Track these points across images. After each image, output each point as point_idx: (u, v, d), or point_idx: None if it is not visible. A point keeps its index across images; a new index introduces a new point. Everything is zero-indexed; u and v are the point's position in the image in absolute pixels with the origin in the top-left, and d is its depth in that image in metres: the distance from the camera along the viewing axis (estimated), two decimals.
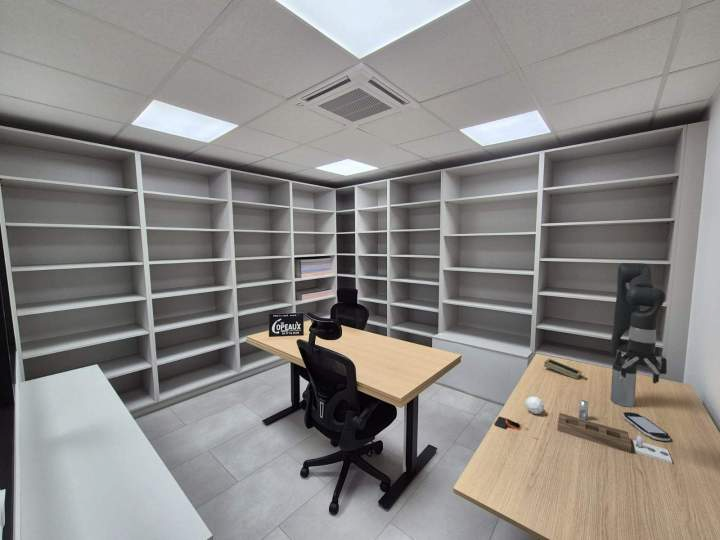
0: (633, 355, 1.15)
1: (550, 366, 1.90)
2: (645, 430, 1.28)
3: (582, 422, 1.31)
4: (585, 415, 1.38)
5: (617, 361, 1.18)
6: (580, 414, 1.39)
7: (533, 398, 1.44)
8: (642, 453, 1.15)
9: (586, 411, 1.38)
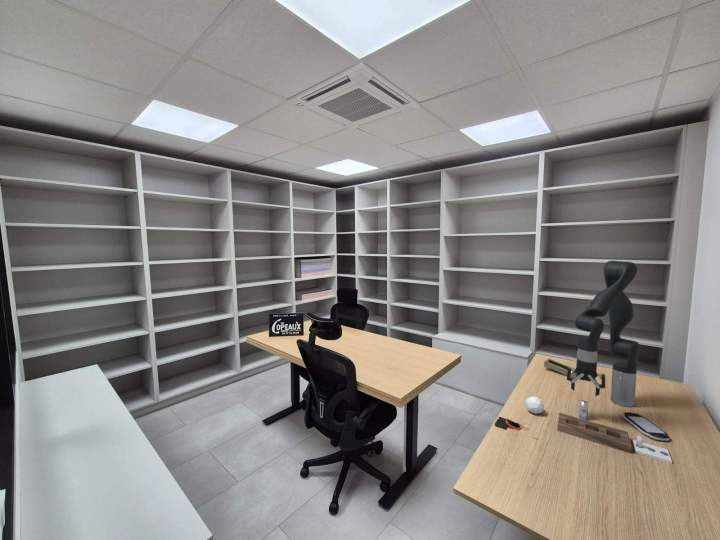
0: (580, 372, 1.38)
1: (550, 366, 1.90)
2: (644, 430, 1.28)
3: (582, 422, 1.31)
4: (585, 415, 1.38)
5: (567, 377, 1.41)
6: (580, 414, 1.39)
7: (533, 398, 1.44)
8: (642, 453, 1.15)
9: (586, 411, 1.38)
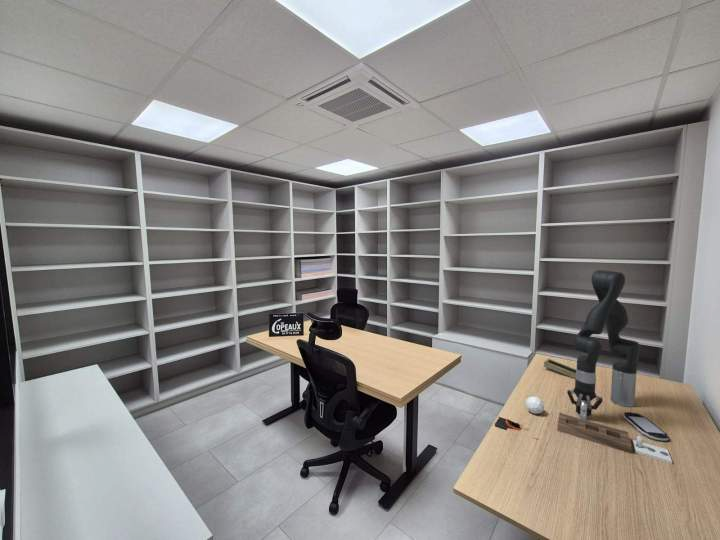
0: (578, 392, 1.39)
1: (550, 366, 1.90)
2: (643, 430, 1.28)
3: (582, 422, 1.31)
4: (585, 415, 1.38)
5: (571, 400, 1.41)
6: (580, 414, 1.39)
7: (533, 398, 1.44)
8: (642, 453, 1.15)
9: (586, 411, 1.38)
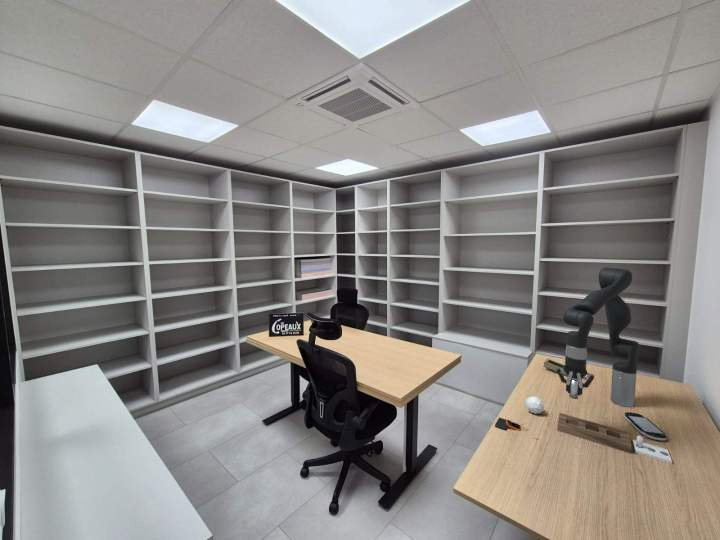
0: (568, 370, 1.30)
1: (550, 366, 1.89)
2: (641, 429, 1.28)
3: (582, 422, 1.31)
4: (576, 394, 1.29)
5: (561, 378, 1.32)
6: (570, 393, 1.30)
7: (533, 398, 1.44)
8: (642, 453, 1.15)
9: (576, 389, 1.29)
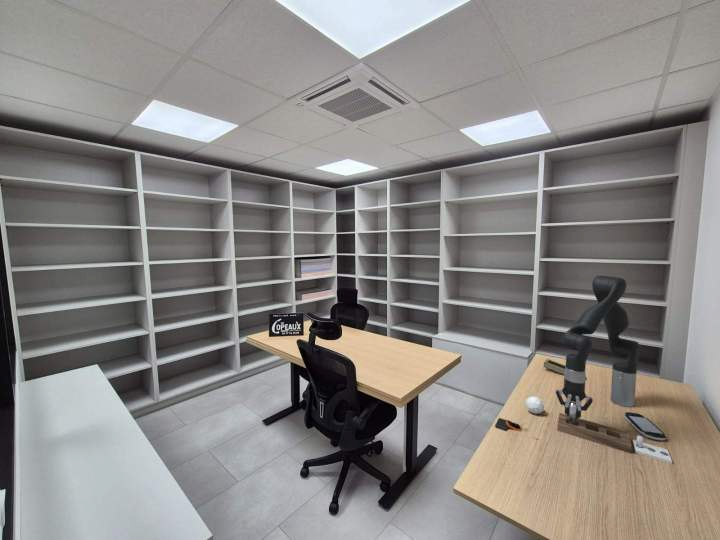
0: (567, 392, 1.31)
1: (550, 367, 1.89)
2: (641, 429, 1.29)
3: (582, 422, 1.31)
4: (574, 417, 1.30)
5: (560, 401, 1.33)
6: (569, 416, 1.31)
7: (533, 398, 1.44)
8: (642, 453, 1.15)
9: (575, 412, 1.30)
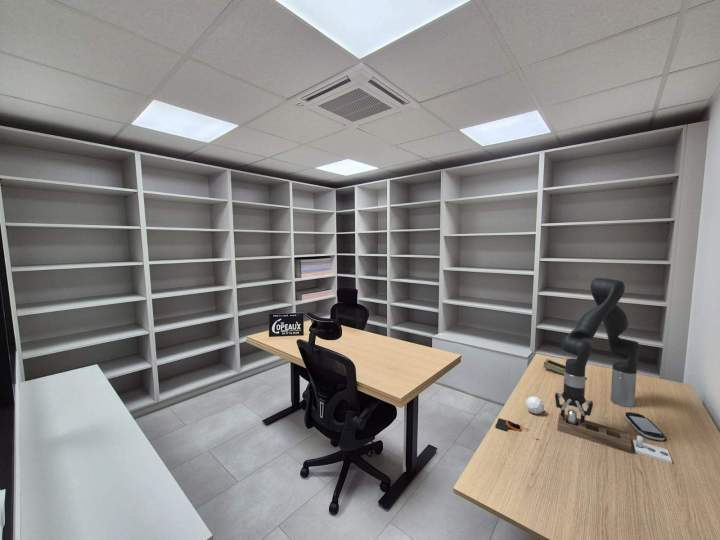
0: (567, 397, 1.31)
1: (550, 367, 1.89)
2: (639, 428, 1.29)
3: (582, 422, 1.31)
4: None
5: (556, 403, 1.34)
6: None
7: (533, 398, 1.44)
8: (642, 453, 1.15)
9: (574, 421, 1.30)
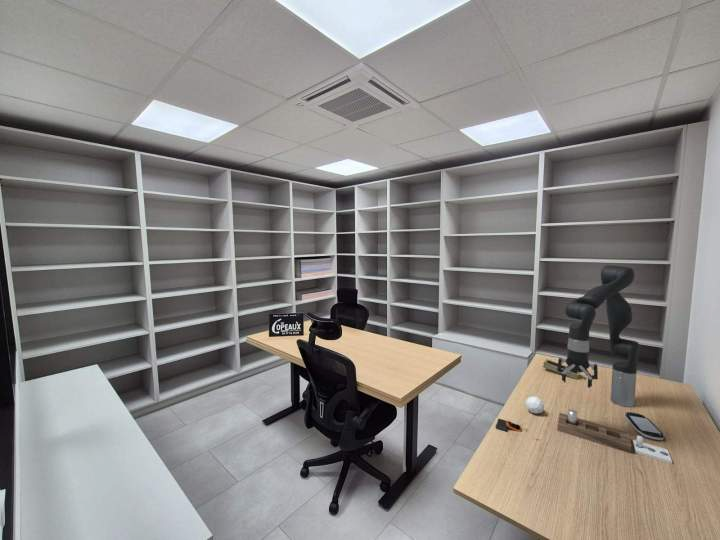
0: (571, 362, 1.30)
1: (549, 367, 1.89)
2: (639, 428, 1.29)
3: (582, 422, 1.31)
4: None
5: (558, 368, 1.33)
6: None
7: (533, 398, 1.44)
8: (642, 453, 1.15)
9: (574, 421, 1.30)
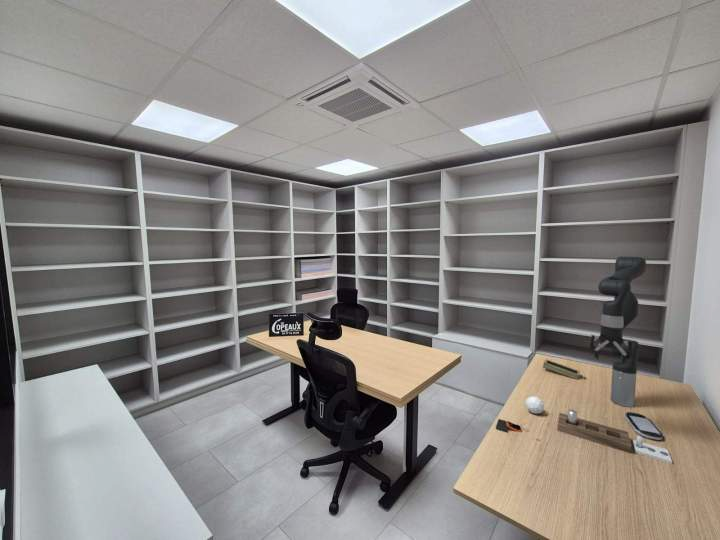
0: (604, 339, 1.31)
1: (549, 367, 1.88)
2: (637, 428, 1.29)
3: (582, 422, 1.31)
4: None
5: (591, 344, 1.34)
6: None
7: (533, 398, 1.44)
8: (642, 453, 1.15)
9: (574, 421, 1.30)
